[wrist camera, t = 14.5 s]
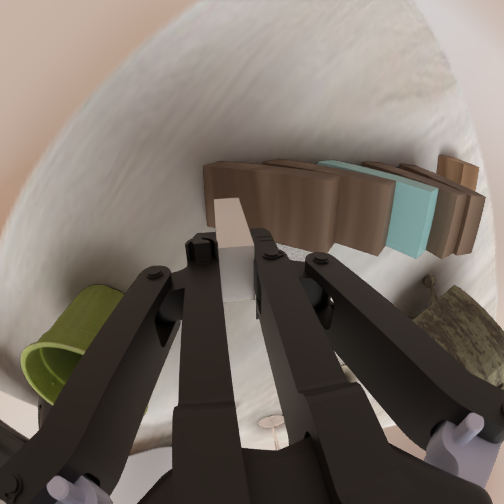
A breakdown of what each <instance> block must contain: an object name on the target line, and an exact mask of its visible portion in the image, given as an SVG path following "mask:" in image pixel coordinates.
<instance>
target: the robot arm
mask: <svg viewBox="0 0 504 504" xmlns="http://www.w3.org/2000/svg"><path fill="white" fill-rule="evenodd" d="M214 208H215V225H216V232H208V233H197V234H196V235H195V236H194V237H193V239H190V240H189V241H187V242H186V244H185V248H186V255H187V262H188V263H187V267H186V268H185V269H183V270H180V271H177V272H174V273H171V271H170V269H169V268H167V267H165V266H153V267H152V266H151V267H149V268H147V269H145V270H143V271H142V272H141V273H140V274H139V276H138V277H137V278H136V280H135V281H134V282H133V284H132V285H131V286H130V288H129V289H128V290H127V292H126V293H125V295H124V296H123V297H122V299H121V300H120V302H119V303H118V304H117V306H116V307H115V309H114V310H113V311H112V313H111V314H110V316H109V317H108V319H107V320H106V321H105V323H104V324H103V326H102V327H101V329H100V330H99V332H98V333H97V335H96V336H95V338H94V339H93V341H92V342H91V344H90V345H89V347H88V348H87V350H86V351H85V353H84V355H83V356H82V358H81V359H80V361H79V362H78V364H77V366H76V367H75V369H74V370H73V372H72V374H71V375H70V377H69V379H68V380H67V382H66V384H65V385H64V387H63V389H62V390H61V392H60V394H59V395H58V397H57V399H56V401H55V402H54V404H53V405H51V404H50V403H48V402H47V401H46V400H45V399H44V398H42V397H41V396H40V399H39V402H38V423H39V431H38V432H37V433H36V434H35V435H34V436H33V437H32V438H31V439H28V438H27V437H25V436H23V435H22V434H20V433H19V432H17V431H16V430H14V429H13V428H11V427H10V426H9V425H7V424H6V423H4V422H3V421H2V420H0V504H113V502H112V500H111V499H110V495H111V493H112V492H113V490H114V488H115V487H116V485H117V483H118V481H119V479H120V477H121V474H122V472H123V470H124V467H125V464H126V462H127V459H128V456H129V453H130V450H131V448H132V445H133V442H134V439H135V437H136V434H137V431H138V429H139V426H140V423H141V421H142V418H143V416H144V413H145V410H146V408H147V405H148V403H149V400H150V397H151V395H152V392H153V390H154V387H155V385H156V382H157V380H158V377H159V375H160V372H161V370H162V367H163V365H164V363H165V360H166V358H167V355H168V353H169V350H170V348H171V346H172V343H173V341H174V338H175V336H176V334H177V331H178V329H179V327H180V322H181V321H180V320H181V319H182V333H181V350H180V371H179V401H178V406H176V407H174V410H173V423H172V469H171V470H170V471H168V472H167V473H165V474H164V475H163V476H162V477H161V478H160V479H159V480H158V481H157V482H156V483H155V485H154V486H153V487H152V488H151V489H150V490H149V491H148V492H147V493H146V495H145V496H144V497H143V498H142V499H141V500H140V501H139V502H138V503H137V504H493V503H492V500H491V498H490V496H489V494H488V493H487V492H486V491H485V489H484V488H485V486H486V483H487V481H488V479H489V476H490V474H491V471H492V468H493V466H494V463H495V460H496V458H497V455H498V452H499V449H500V445H501V443H502V442H503V441H504V390H502V389H500V388H498V387H496V386H495V385H493V384H491V383H489V382H487V381H485V380H483V379H481V378H479V377H477V376H475V375H473V374H471V373H470V372H469V371H468V370H467V369H466V368H465V367H464V366H463V365H461V364H460V363H459V362H458V361H457V360H456V359H455V358H454V357H453V356H452V355H451V354H449V353H448V352H447V351H446V350H445V349H444V348H443V347H442V346H441V345H439V344H438V343H437V342H436V341H435V340H434V339H433V338H432V337H430V336H429V335H428V334H427V333H426V332H425V331H424V330H422V329H421V328H420V327H419V326H418V325H417V324H415V323H414V322H413V321H412V320H411V319H410V318H408V317H407V316H406V315H405V314H404V313H403V312H401V311H400V310H399V309H398V308H397V307H395V306H394V305H393V304H392V303H391V302H389V301H388V300H387V299H386V298H385V297H383V296H382V295H381V294H380V293H378V292H377V291H376V290H375V289H374V288H372V287H371V286H370V285H369V284H367V283H366V282H365V281H364V280H362V279H361V278H360V277H359V276H358V275H356V274H355V273H354V272H352V271H351V270H350V269H349V268H347V267H346V266H345V265H344V264H342V263H341V262H340V261H339V260H337V259H336V258H335V257H333V256H332V255H330V254H327V253H324V252H315V253H311V254H308V255H307V256H306V260H305V262H301V261H293V260H289V258H288V256H287V254H286V253H285V252H284V251H281V250H279V249H278V247H277V245H276V243H275V241H274V239H273V237H272V235H271V233H270V231H268V230H267V229H265V228H254V229H249V228H248V225H247V222H246V219H245V216H244V213H243V210H242V207H241V204H240V201H239V198H226V199H214ZM255 294H256V319H259V320H260V324H261V328H262V332H263V337H264V341H265V345H266V349H267V353H268V357H269V361H270V365H271V369H272V373H273V377H274V381H275V385H276V389H277V393H278V397H279V401H280V405H281V409H282V413H283V417H284V421H285V425H286V429H287V433H288V439H289V446H288V447H285V448H283V449H280V450H273V451H272V450H259V449H248V448H241V442H240V435H239V428H238V421H237V414H236V407H235V401H234V393H233V386H232V378H231V370H230V361H229V353H228V344H227V335H226V326H225V317H224V307H223V302H233V301H244V300H255ZM330 298H332V300H333V302H334V303H333V302H332V301H331V300H330ZM334 351H335V352H336V354H337V355H338V356H339V357H340V358H341V359H342V361H343V362H344V363H345V364H346V365H347V367H348V368H349V369H350V370H351V371H352V372H353V374H354V375H355V376H356V377H357V378H358V380H359V381H360V382H361V383H362V384H363V385H364V387H365V388H366V389H367V390H368V391H369V393H370V394H371V395H372V396H373V397H374V398H375V400H376V401H377V402H378V403H379V404H380V406H381V407H382V408H383V409H384V410H385V411H386V413H387V414H388V415H389V416H390V417H391V419H392V420H393V421H394V422H395V423H396V424H397V426H398V427H399V428H400V429H401V430H402V431H403V432H404V433H405V434H406V436H407V437H409V439H410V440H412V441H413V442H414V443H415V444H417V445H418V446H419V447H420V448H422V449H424V450H425V451H426V454H427V455H426V456H425V459H424V461H423V460H421V459H419V458H417V457H415V456H413V455H411V454H409V453H407V452H405V451H403V450H401V449H399V448H397V447H396V446H393V445H392V444H390V443H388V441H387V438H386V436H385V434H384V432H383V430H382V427H381V425H380V423H379V421H378V419H377V417H376V415H375V412H374V410H373V408H372V406H371V404H370V402H369V400H368V398H367V396H366V393H365V391H364V390H363V388H362V387H361V385H360V384H359V383H357V382H352V383H350V382H349V381H348V380H347V378H346V376H345V374H344V372H343V370H342V367H341V365H340V363H339V361H338V359H337V357H336V354H335V352H334Z"/></svg>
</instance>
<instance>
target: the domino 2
mask: <svg viewBox="0 0 504 504" xmlns="http://www.w3.org/2000/svg"><path fill="white" fill-rule="evenodd" d="M263 165H269V166H277V167H286V168H294V169H301V170H309V171H316V172H322V173H329V174H335V175H341V187H340V199H339V209H338V218H337V227H336V236H335V243H338V244H341V245H344V246H347V247H350V248H353V249H357V250H360V251H363V252H366V253H369V254H372V255H375V256H378V255H379V254H380V253H381V251H382V250H383V248H384V247H385V245H386V241H387V236H388V231H389V225H390V220H391V214H392V208H393V201H394V195H395V188H396V181H395V180H391V179H387V178H382V177H378V176H373V175H369V174H364V173H359V172H355V171H350V170H344V169H339V168H334V167H328V166H322V165H317V164H310V163H304V162H298V161H291V160H284V159H276V160H271V161H267V162H263Z"/></svg>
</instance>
